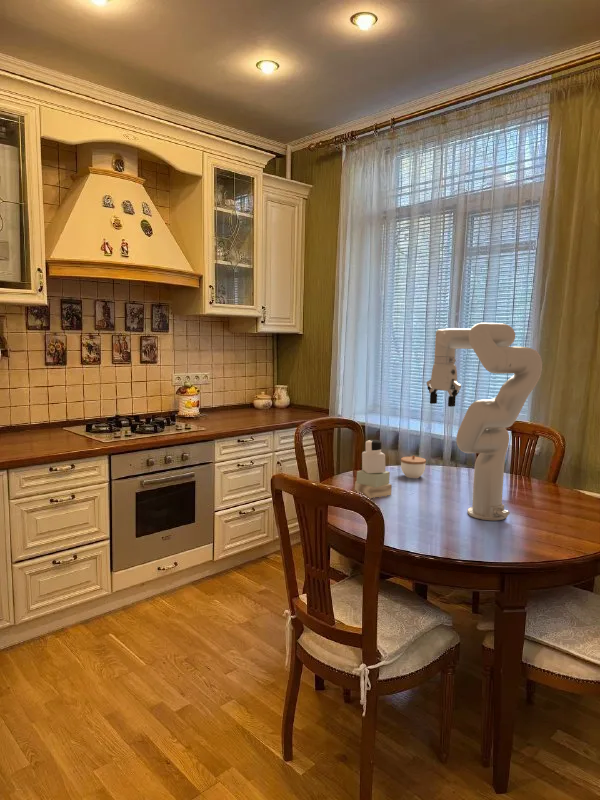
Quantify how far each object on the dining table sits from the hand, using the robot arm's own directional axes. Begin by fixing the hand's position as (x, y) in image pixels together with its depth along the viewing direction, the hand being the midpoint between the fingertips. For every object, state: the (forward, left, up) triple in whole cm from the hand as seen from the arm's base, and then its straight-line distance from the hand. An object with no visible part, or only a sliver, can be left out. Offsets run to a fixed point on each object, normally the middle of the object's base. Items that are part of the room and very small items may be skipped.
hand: (442, 404), depth 217 cm
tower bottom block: (+8, +27, -35) cm, 44 cm away
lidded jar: (+21, -5, -34) cm, 41 cm away
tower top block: (+8, +27, -30) cm, 41 cm away
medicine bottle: (+8, +26, -26) cm, 38 cm away
